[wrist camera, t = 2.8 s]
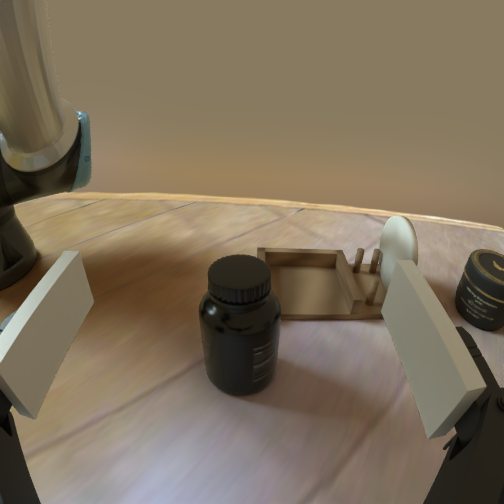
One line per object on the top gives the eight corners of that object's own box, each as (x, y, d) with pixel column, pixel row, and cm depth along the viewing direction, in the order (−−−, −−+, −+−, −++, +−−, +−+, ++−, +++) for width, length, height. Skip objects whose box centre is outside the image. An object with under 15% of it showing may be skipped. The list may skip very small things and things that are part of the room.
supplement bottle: (265, 341, 34) (273, 243, 28) (283, 391, 29) (299, 292, 22) (202, 349, 33) (192, 250, 27) (210, 402, 27) (199, 304, 21)
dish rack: (256, 318, 37) (260, 235, 32) (256, 265, 47) (259, 194, 41) (413, 317, 37) (440, 243, 32) (388, 268, 47) (404, 203, 41)
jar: (498, 345, 32) (524, 299, 28) (441, 310, 38) (461, 263, 34) (511, 310, 37) (531, 269, 33) (462, 282, 44) (478, 240, 40)
